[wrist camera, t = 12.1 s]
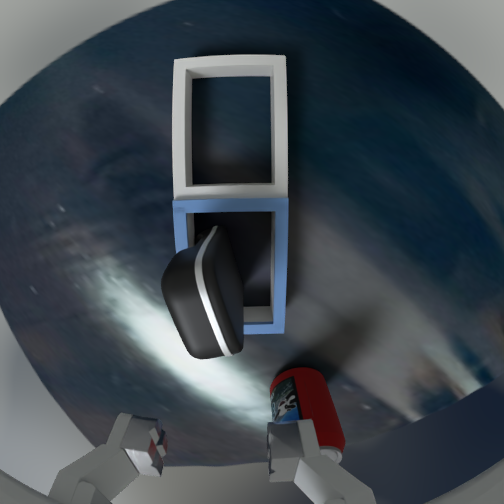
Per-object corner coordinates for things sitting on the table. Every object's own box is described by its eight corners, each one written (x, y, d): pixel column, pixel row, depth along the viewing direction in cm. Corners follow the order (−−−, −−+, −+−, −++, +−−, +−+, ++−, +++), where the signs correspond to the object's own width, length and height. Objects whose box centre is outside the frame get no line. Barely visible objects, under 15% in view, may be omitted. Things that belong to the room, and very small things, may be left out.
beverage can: (267, 366, 30) (277, 451, 19) (325, 359, 30) (355, 438, 19) (270, 404, 32) (278, 482, 21) (322, 397, 32) (343, 471, 21)
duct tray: (281, 67, 21) (286, 53, 18) (279, 314, 28) (284, 333, 25) (181, 70, 21) (172, 57, 18) (191, 315, 28) (185, 333, 25)
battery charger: (185, 231, 26) (145, 279, 15) (224, 220, 26) (209, 262, 15) (207, 298, 28) (188, 374, 17) (245, 289, 28) (245, 365, 17)
